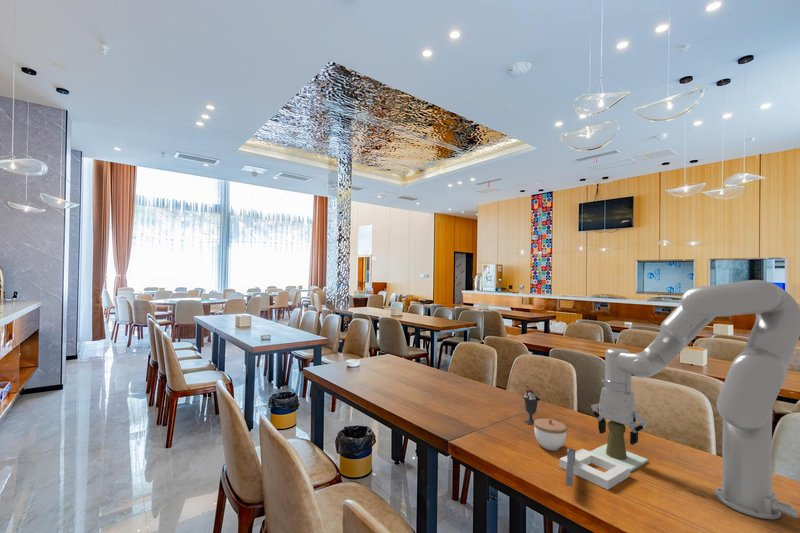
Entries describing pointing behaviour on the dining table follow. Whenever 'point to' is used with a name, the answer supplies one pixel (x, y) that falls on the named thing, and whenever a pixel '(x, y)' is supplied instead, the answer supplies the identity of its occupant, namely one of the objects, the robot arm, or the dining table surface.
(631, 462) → the sage mat
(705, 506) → the dining table surface
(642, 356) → the robot arm
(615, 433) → the olive tapered cylinder
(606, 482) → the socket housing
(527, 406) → the sundae
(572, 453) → the retention bar
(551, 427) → the lidded jar
